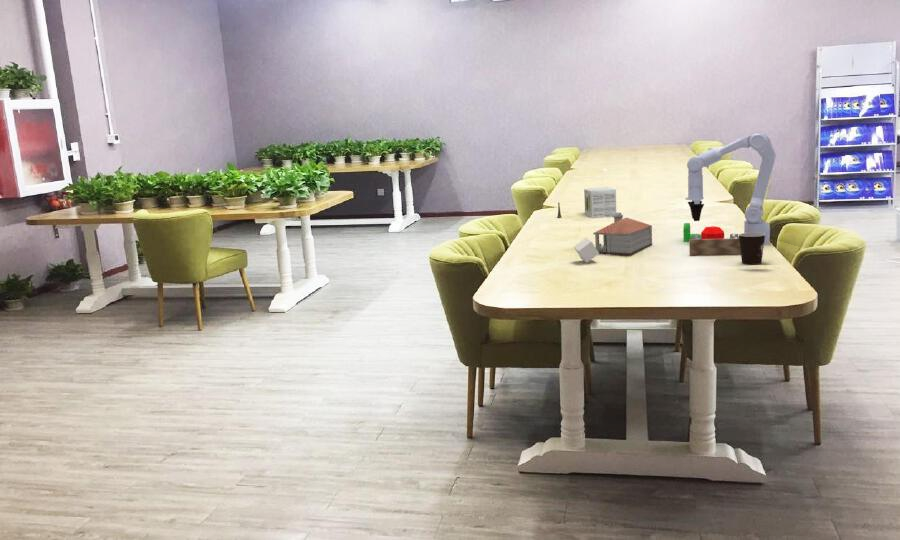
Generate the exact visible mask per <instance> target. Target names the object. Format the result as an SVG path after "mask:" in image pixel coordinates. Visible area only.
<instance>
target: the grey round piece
mask: <svg viewBox="0 0 900 540" xmlns="http://www.w3.org/2000/svg"><path fill="white" fill-rule="evenodd" d="M729 238H739V233H730V234H729ZM692 239H701V238H700V235H692Z"/></svg>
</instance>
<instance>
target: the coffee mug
mask: <svg viewBox="0 0 900 540" xmlns="http://www.w3.org/2000/svg"><path fill="white" fill-rule="evenodd" d="M738 237H739V241H740V250H741V255H740V257H741V263H742V264H744V265H761V264H762V262H763V255H764V249H765V248H764V246H765V245H764V240H765V234H763V233H744V232H743V233H738Z"/></svg>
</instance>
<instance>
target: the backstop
mask: <svg viewBox="0 0 900 540" xmlns="http://www.w3.org/2000/svg"><path fill="white" fill-rule="evenodd" d="M689 256H690V257H696V256H697V257H698V256H700V257H701V256H705V257H706V256H741V250H740V241H739V238H730V237H729V238H724V239H690V242H689Z"/></svg>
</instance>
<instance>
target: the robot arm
mask: <svg viewBox="0 0 900 540" xmlns="http://www.w3.org/2000/svg"><path fill="white" fill-rule="evenodd" d="M742 148H745V149H746V148H747V149H748V148H752V150H754V151H756V153H758V154H759V156H760V157H761V163H760V166H759V170H758V174H757V177H756V182H755V186H754V190H753V193H752V196H751V200H750V203H749V206H748V207H747V209H746V210H745V211H744V218H745V220H743V221H744V222H743V225H744V226H743V229H744V231H743V233H763V234H765V240H764V246H765V245H766V246H769V245H770V243H771V242H770V241H771V240H770V239H771V238H770V237H771V226H770V222H769V221H765V220H764V219H763V218H762V217H763V214H764V210H763V205H764V202H765V198H766V197H765V196H766V194H767V190H768V185H769V182H770V179H771V174H772V171H773V168H774V164H775V160H776V157H777V154H776V152H775V149H774V147H773V144H772V141H771V138H769V136H767V134H766V133H764V132H762V131H761V132H755V133H754V134H753V133H752V134H750V135H747V136H743V137H740V138H738V139H736V140H734V141H732V142H730V143H728V144H726V145H724V146H722V147H721V148H720V147H719V148H717V147H713V148H712V147H710V148H707V150H706V151H704V152H702V153H697V154H696V156H693V157H691V158H690V159H688V161H687V163H686V167H687V169H688V171H687V172H688V175H687V188H688V191H687V195H688V197H685V200H686V201H687V200H688V201H687V204H688V206H689V209H690V214H691V217H692V219H693V221H694V222H700V220H701V215H702V211H703V208H704V206H705V204H704V203H703V200H704V177H703V176H704V175H703V168H706V167H707V168H708V167H709V166H712V165H713V164H716V163H718V162H720V161H721V160H722V157H723V156H725V155H727V154H730V153H731V152H732V153H733V151H736V150H739V149H742Z"/></svg>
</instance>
